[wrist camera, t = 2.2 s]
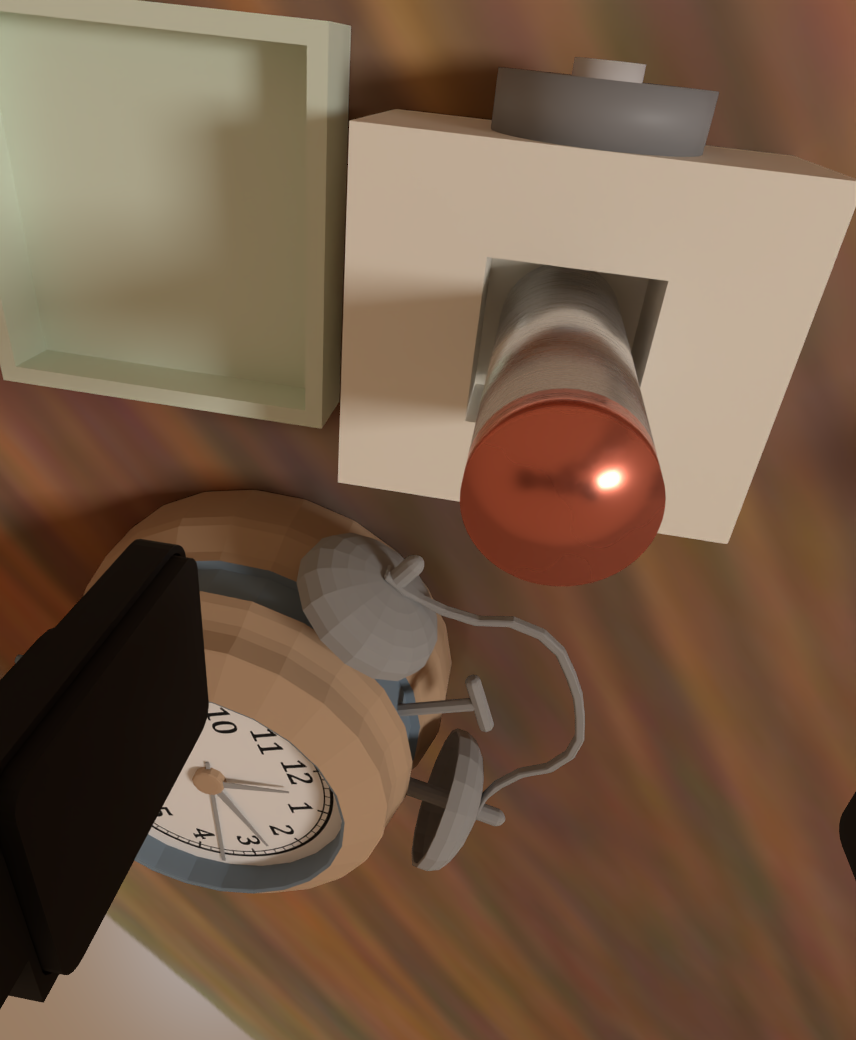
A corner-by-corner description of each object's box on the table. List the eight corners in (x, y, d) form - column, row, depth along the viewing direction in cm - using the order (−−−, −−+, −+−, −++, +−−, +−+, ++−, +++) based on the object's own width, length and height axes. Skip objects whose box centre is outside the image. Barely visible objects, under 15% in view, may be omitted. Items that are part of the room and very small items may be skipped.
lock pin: (509, 254, 21) (472, 395, 12) (633, 270, 21) (691, 427, 12) (492, 371, 23) (449, 569, 14) (605, 387, 23) (637, 600, 14)
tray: (-29, -16, 23) (-90, -25, 20) (351, 25, 22) (328, 21, 20) (43, 357, 29) (3, 379, 27) (339, 401, 28) (321, 428, 26)
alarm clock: (-114, 654, 26) (537, 571, 20) (41, 518, 34) (543, 429, 28) (109, 932, 34) (620, 933, 28) (193, 771, 42) (606, 744, 36)
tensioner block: (400, 39, 22) (352, 30, 17) (816, 85, 21) (899, 91, 16) (377, 407, 28) (337, 482, 23) (696, 455, 27) (727, 544, 22)
